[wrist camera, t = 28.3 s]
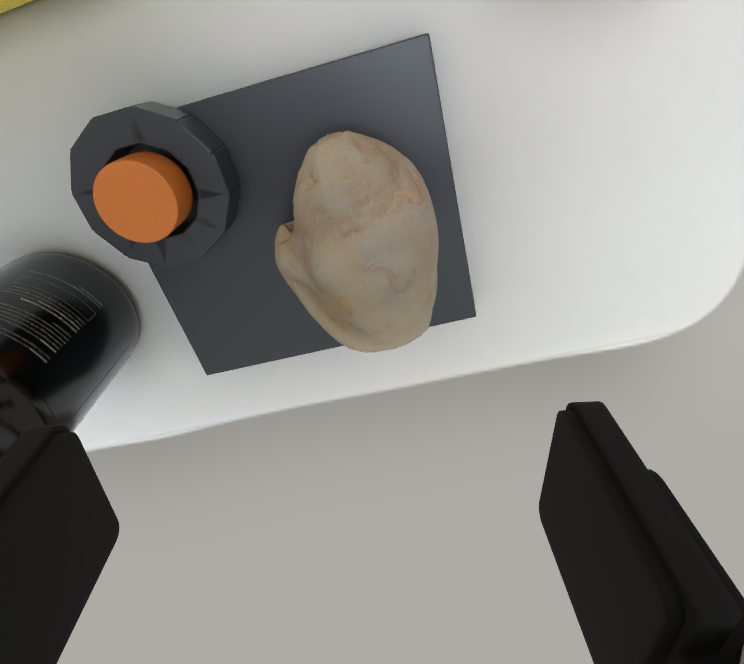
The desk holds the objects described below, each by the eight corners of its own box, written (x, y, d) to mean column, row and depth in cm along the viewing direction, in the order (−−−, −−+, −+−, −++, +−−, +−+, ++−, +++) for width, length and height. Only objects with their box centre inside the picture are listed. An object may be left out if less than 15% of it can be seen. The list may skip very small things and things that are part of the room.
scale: (205, 364, 26) (187, 399, 24) (80, 122, 20) (37, 134, 18) (472, 305, 24) (484, 336, 22) (423, 20, 18) (432, 15, 16)
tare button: (137, 236, 20) (118, 251, 18) (99, 162, 18) (75, 172, 17) (205, 218, 19) (192, 232, 18) (172, 141, 18) (154, 150, 17)
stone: (434, 213, 24) (373, 75, 17) (488, 316, 20) (440, 195, 14) (314, 278, 25) (213, 172, 18) (347, 384, 22) (239, 303, 15)
